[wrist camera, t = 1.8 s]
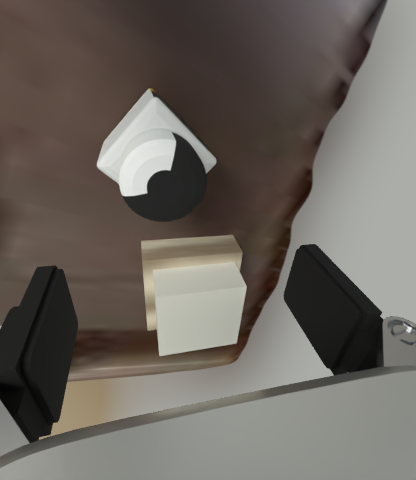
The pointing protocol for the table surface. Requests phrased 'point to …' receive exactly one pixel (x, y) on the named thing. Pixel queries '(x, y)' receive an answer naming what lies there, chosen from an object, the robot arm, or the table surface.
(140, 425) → the robot arm
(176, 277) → the tower top block
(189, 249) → the tower base block
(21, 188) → the table surface
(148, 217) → the medicine bottle
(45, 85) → the table surface
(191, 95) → the table surface
